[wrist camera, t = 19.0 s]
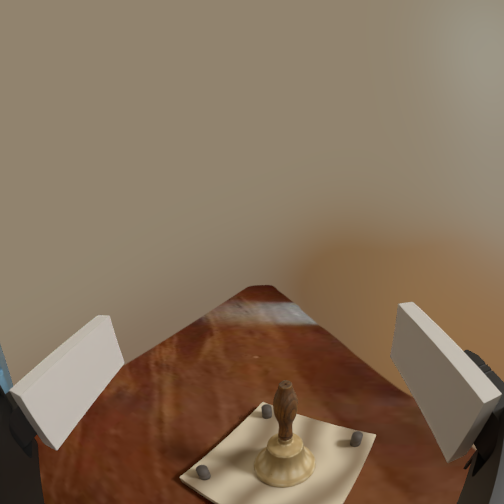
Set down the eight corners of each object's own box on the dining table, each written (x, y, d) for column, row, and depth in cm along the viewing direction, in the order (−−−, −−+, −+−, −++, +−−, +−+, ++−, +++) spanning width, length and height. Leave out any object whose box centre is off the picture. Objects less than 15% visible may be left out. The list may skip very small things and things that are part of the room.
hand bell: (318, 444, 31) (327, 360, 27) (311, 490, 23) (322, 414, 20) (262, 440, 33) (253, 357, 30) (246, 482, 25) (229, 406, 22)
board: (182, 481, 26) (175, 470, 26) (263, 407, 42) (262, 393, 41) (312, 548, 15) (315, 543, 14) (374, 440, 31) (378, 426, 30)
